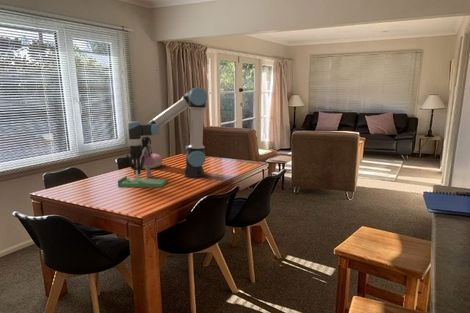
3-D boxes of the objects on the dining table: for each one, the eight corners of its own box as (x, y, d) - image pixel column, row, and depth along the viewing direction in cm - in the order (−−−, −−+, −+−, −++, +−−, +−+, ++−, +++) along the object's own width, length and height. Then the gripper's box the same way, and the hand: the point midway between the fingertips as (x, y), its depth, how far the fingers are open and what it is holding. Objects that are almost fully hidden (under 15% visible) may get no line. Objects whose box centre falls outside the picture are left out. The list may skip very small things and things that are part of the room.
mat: (167, 182, 229) (166, 176, 228) (161, 187, 217) (161, 181, 217) (125, 181, 232) (125, 176, 231) (118, 186, 220) (117, 180, 219)
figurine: (147, 180, 234) (144, 139, 228) (134, 180, 236) (131, 138, 230) (160, 173, 255) (158, 134, 249) (148, 172, 257) (146, 134, 251)
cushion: (165, 163, 291) (164, 152, 289) (160, 170, 266) (159, 157, 264) (136, 163, 290) (136, 152, 288) (128, 170, 265) (127, 158, 263)
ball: (137, 179, 227) (131, 177, 227) (135, 178, 223) (130, 177, 224) (135, 185, 227) (129, 183, 227) (133, 184, 223) (128, 182, 223)
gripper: (146, 144, 223) (149, 177, 227) (128, 143, 224) (130, 177, 229) (142, 145, 215) (145, 180, 220) (123, 145, 217) (126, 180, 221)
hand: (137, 178), depth 224 cm, fingers closed
